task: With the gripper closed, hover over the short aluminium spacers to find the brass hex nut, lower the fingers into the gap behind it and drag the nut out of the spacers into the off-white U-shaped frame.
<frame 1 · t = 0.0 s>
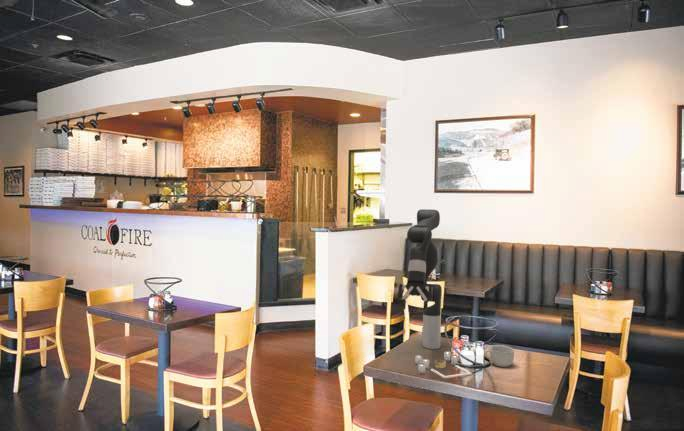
hand: (414, 309, 201), 31 cm above the table, tool tilted 20°, fingers open, 8 cm apart
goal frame: (450, 371, 218), on the table
nut: (440, 366, 225), on the table
teacup: (498, 365, 228), on the table
spacer field: (440, 366, 225), on the table
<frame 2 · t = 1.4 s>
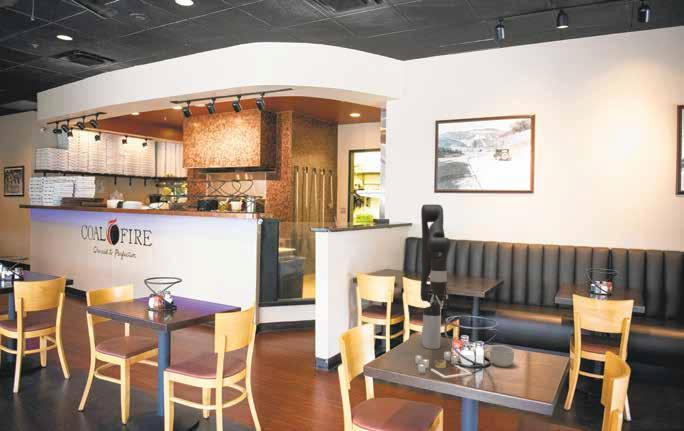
hand: (438, 314, 226), 24 cm above the table, tool pointing down, fingers open, 8 cm apart
nothing on the table moved.
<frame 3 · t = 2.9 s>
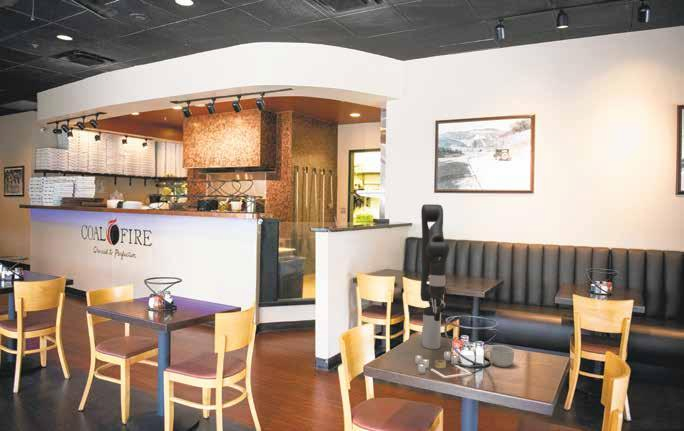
hand: (436, 320, 228), 21 cm above the table, tool pointing down, fingers closed
nothing on the table moved.
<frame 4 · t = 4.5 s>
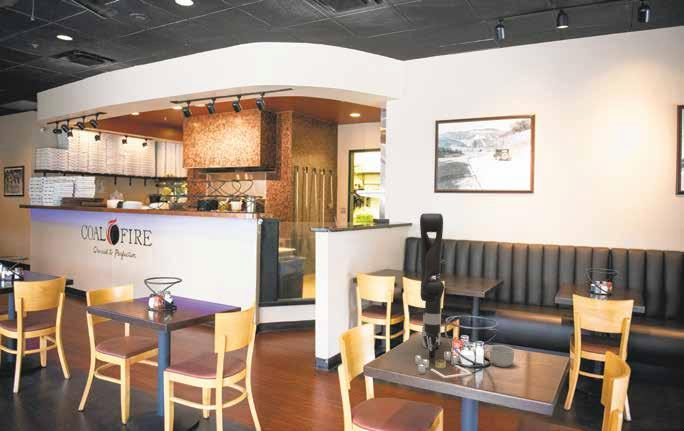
hand: (431, 358, 231), 2 cm above the table, tool pointing down, fingers closed
nothing on the table moved.
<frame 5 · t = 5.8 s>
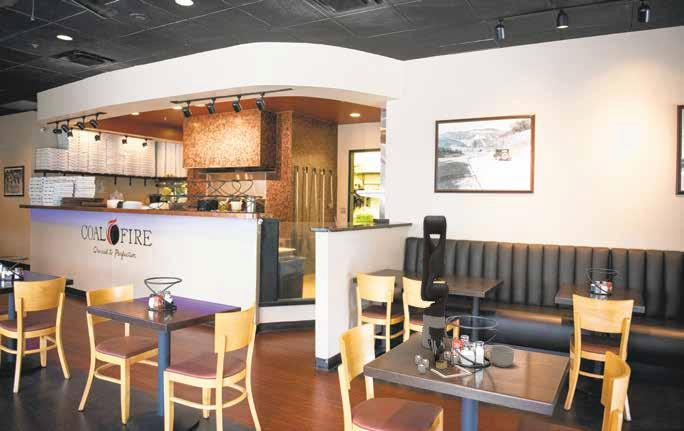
hand: (436, 361, 228), 1 cm above the table, tool pointing down, fingers closed
nut: (441, 367, 224), on the table, touching gripper
everything else where it was.
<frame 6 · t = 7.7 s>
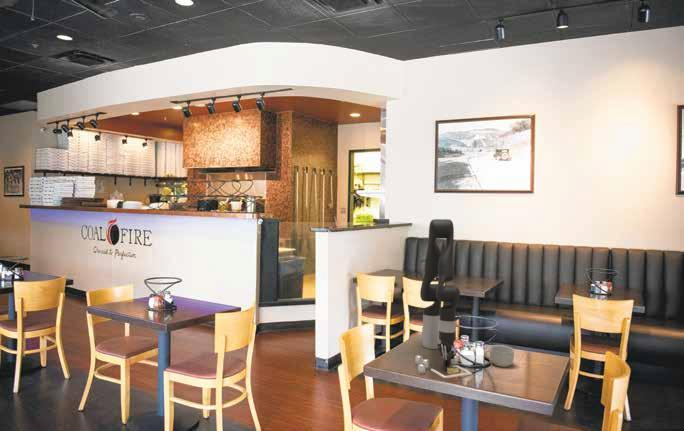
hand: (446, 367, 220), 1 cm above the table, tool pointing down, fingers closed
nut: (452, 372, 217), on the table, touching gripper
everything else where it was.
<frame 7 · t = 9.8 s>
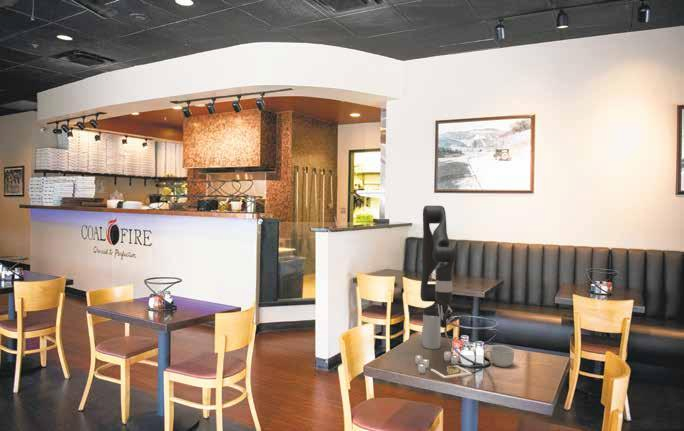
hand: (443, 327, 223), 19 cm above the table, tool pointing down, fingers closed
nut: (452, 373, 217), on the table
everything else where it was.
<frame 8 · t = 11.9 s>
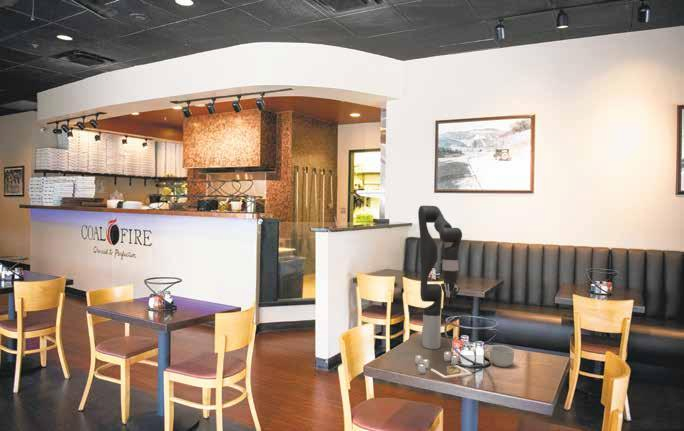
hand: (449, 304, 233), 27 cm above the table, tool pointing down, fingers closed
nothing on the table moved.
at the end: nut inside the target area (1.0 cm from its centre), on the table; nut tilted 0° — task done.
